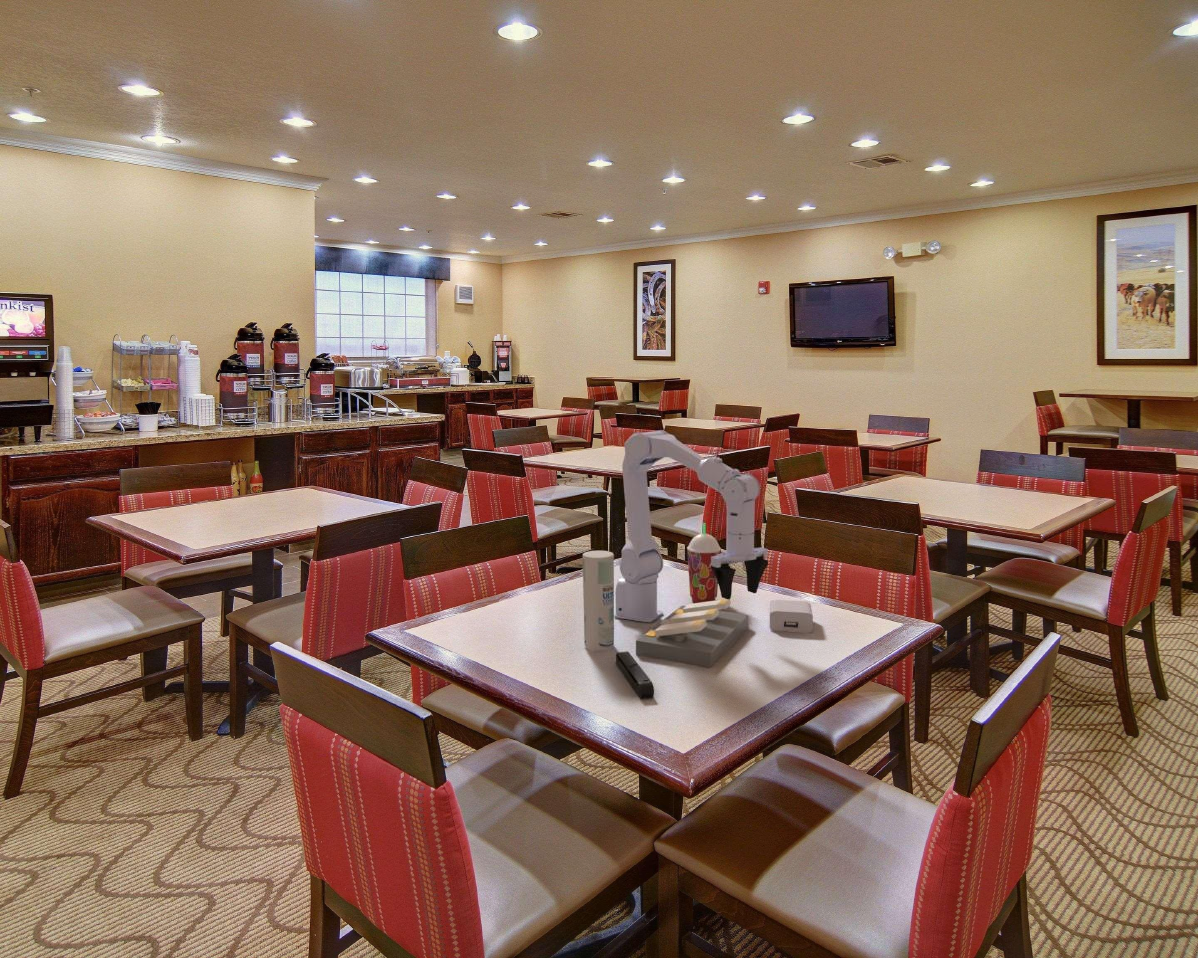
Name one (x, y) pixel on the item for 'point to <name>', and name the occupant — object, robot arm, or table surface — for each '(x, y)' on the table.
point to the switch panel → (694, 640)
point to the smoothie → (702, 567)
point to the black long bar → (634, 675)
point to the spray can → (598, 600)
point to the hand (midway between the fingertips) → (739, 595)
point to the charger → (791, 616)
